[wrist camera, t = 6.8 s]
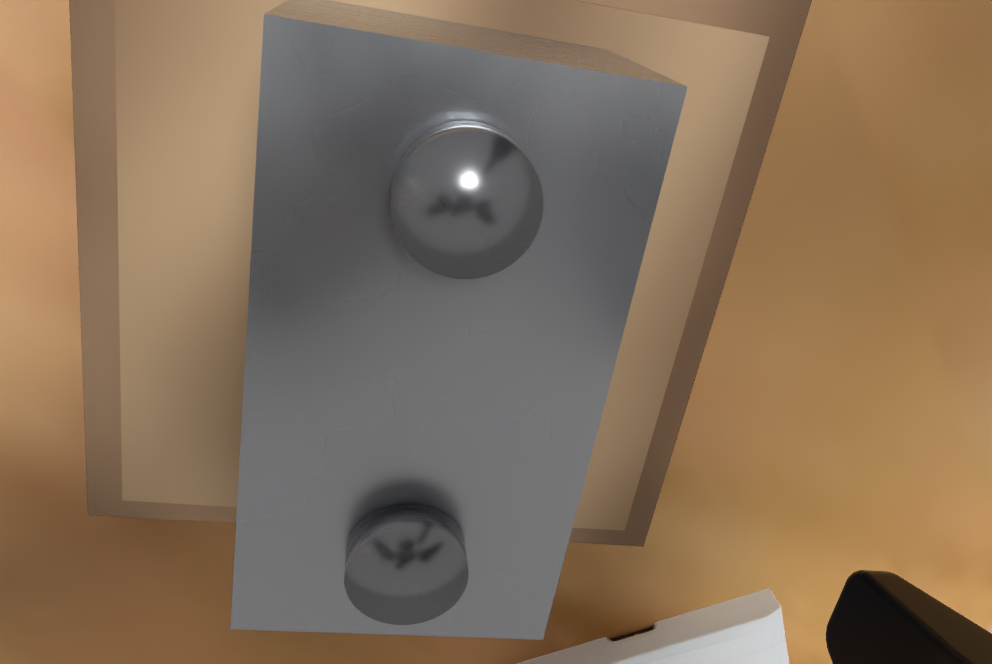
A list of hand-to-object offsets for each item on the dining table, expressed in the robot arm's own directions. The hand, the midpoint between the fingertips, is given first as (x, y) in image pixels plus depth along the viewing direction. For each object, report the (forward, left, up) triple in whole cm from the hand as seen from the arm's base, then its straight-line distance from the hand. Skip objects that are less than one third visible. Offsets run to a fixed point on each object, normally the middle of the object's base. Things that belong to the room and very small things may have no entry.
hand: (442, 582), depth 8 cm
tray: (0, 0, -10) cm, 10 cm away
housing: (0, 0, -8) cm, 8 cm away
